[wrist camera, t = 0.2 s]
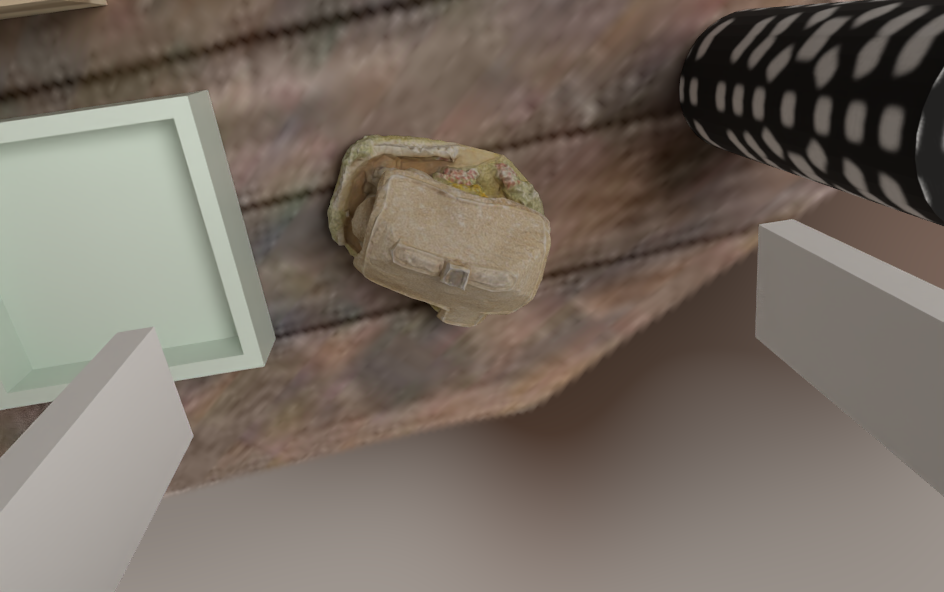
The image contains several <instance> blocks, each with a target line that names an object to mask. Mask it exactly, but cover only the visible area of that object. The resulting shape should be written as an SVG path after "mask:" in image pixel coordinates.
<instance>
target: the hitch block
mask: <svg viewBox="0 0 944 592" xmlns="http://www.w3.org/2000/svg"><path fill="white" fill-rule="evenodd" d="M104 5H107V2H106V0H0V20H1V19H8V18H16V17H23V16H30V15H38V14H45V13H52V12H60V11H67V10H74V9H82V8H89V7H96V6H104Z"/></svg>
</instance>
